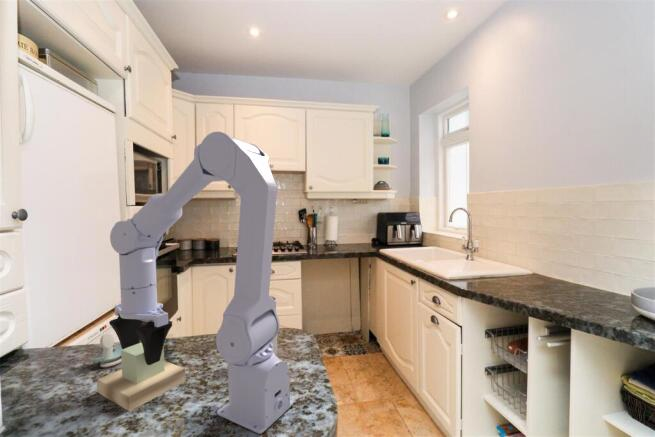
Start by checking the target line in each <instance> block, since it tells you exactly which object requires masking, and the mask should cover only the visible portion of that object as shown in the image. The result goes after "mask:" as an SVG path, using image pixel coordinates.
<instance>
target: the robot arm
mask: <svg viewBox="0 0 655 437" xmlns="http://www.w3.org/2000/svg"><path fill="white" fill-rule="evenodd" d="M269 158H270V157H269V156H268V155H267V154H266V152H264V151H263V150H262V149H261V148H260V147H259V146H257V145H255V144H253V143H248V142H246V141H243V140H241V139H238V138H235V137H234V136H231V135H229V134H227V133H225V132H222V131H212V132H211V133H208V134H207V135H206V136H205V137H204V139H203V140H202V141H201V143H199V144H198V145H197V146H195V148H194V151H193V160H192V161H191V162H190V163H189V164H188V166H187V167H186V168H185V169H184V171H183V172H182V173H181V174H180V175H179V177H178V178H177V179H176V180H175V182H173V184H172V185H171V186H170V187H169V189H168V190H166V192H165V193H156V194H153V195H150V196H149V197H148V198H147V202H146V203H145V204H144V205H143V206H142V207H141V208H140V209H139V210H138V211H137V212H135V213H134V214H133V215H132V217H131V218H129V219H126V220H120V221H119V220H118V221H117V222H115V223H114V226H113V227H112V229H111V230H110V234H109V240H110V244H111V247H112V249H113V250H114V251H115V252H116V253H118V256H119V259H118V260H119V261H118V262H119V283H120V284H119V286H120V287H119V288H120V304H115V305H114V315H115V316H116V317H117V318H114V319H111V320H110V321H109V326H110V327H111V328H112V329H113V330H114V332H115V334H116V335H117V336H116V337H118V340H119V344H121V347H122V349H125V348H128V347H130V346H133V345H136V344H139V343H141V342H142V346H143V350H144V357H145V361H146V364H147V365H151V364H154V363H156V362H158V361H160V358H161V354H162V349H163V345H164V344H165V341H166V339H167V336H168V334H169V332H170V330H171V329H172V327H173V321H172V320H169V312H166V311H164V310H163V309H162V308H163V307H164V304H163V303H161V302H158V291H157V290H158V289H157V288H158V284H157V282H158V281H157V259H158V256H159V249H160V247H161V245H162V242H163V239H164V238H163V237H164V236H163V235H164V234H165V233H166V232H167V231H168V230H169V229H170V228H172V226H174V225H175V223H177V222H178V221H179V219H181V217H182V216H183V207H184V206H185V205H186V204H187V203H189V201H191V200H192V199H194V198H195V196H197V195H198V194H199V193H200V192H202V190H204V189H205V188H206V187H207V186H208V185H210V184H211V183H212V182H222V181H224V182H226V183H227V184H228V185H229V186H230V187H231V188H232V190H234V191H235V192H236V193H237V195H238V196H239V197H240V205H239V206H240V208H239V219H238V232H237V234H238V236H237V246H236V247H237V249H236V250H237V251H236V264H235V275H234V276H235V278H234V292H233V296H232V299H231V300H230V302H229V304H228V305H227V307H226V308H225V310H224V312H223V314H222V321H221V325H220V327H219V329H218V330H217V332H216V337H215V338H216V339H215V343H216V348H217V351H218V353H219V355H220V356H221V358H223V359H224V363H226V364H227V382H228V387H227V388H228V402H227V403H226V404H224V405H223V406H222V407H220V408H219V409H217V411H216V415H217V416H220V417H221V418H225V419H226V420H228V421H231V422H233V423H235V424H237V425H239V426H242V427H243V428H246V429H248V430H250V431H252V432H255V433H256V434H263V433H264V432H265V431H267V429H268V428H269V427H271V425H273V424H274V423H275V422H276V421H277V420H278V419H279V418H281V416H282V415H284V413H285V412H287V410H289V409H290V408H291V407H293V405H294V400H292V399H291V393H290V391H291V389H290V387H291V386H290V368H289V365H288V364H287V362H286V361H284V360H282V359H280V358H279V357H278V356H277V355H275V354H274V352H273V338H274V337H275V336H276V335H277V336H278V333H279V330H280V319H279V315H278V313H277V300H275V298H273V297H271V295H270V285H271V271H272V260H273V247H274V234H275V232H274V231H275V223H276V222H275V221H276V220H275V219H276V210H277V209H276V208H277V194H278V192H277V191H278V188H277V187H278V186H277V183H276V181H275V179H274V176H273V175H274V174H272V170H271V168H270V165H269V160H270V159H269ZM143 322H145V323H147V324H145V325H142V324H143ZM164 346H165V345H164Z"/></svg>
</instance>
